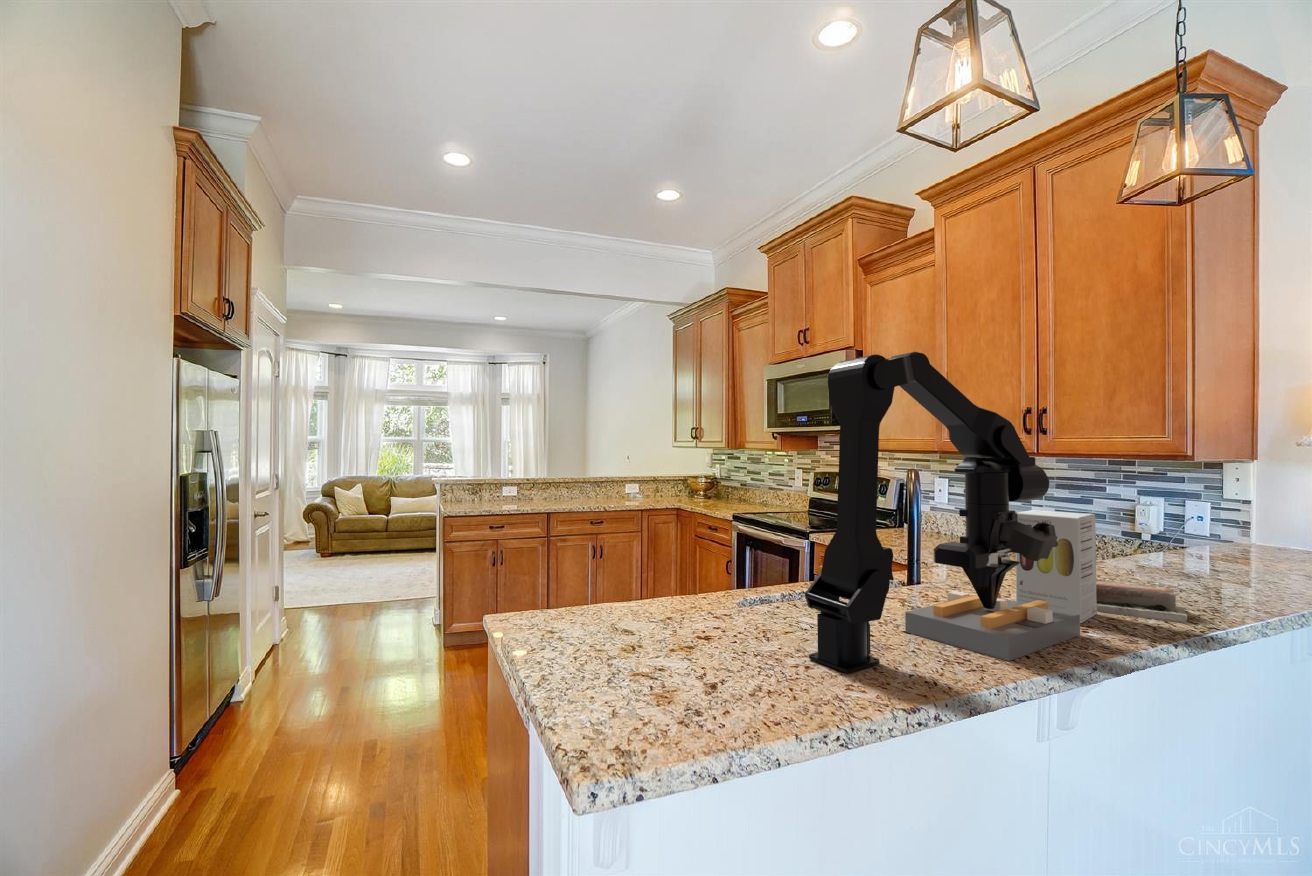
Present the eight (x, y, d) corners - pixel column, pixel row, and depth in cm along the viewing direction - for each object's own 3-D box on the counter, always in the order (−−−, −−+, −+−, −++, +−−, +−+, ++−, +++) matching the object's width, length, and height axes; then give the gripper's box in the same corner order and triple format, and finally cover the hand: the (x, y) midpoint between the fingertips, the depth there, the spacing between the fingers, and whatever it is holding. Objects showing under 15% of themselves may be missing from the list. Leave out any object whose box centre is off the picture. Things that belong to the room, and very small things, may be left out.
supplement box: (1014, 612, 100) (1012, 512, 100) (1033, 603, 106) (1031, 508, 106) (1082, 625, 92) (1079, 516, 93) (1099, 614, 98) (1096, 512, 99)
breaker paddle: (1000, 612, 88) (1000, 601, 88) (983, 609, 90) (983, 598, 90) (1007, 610, 89) (1007, 600, 89) (991, 607, 91) (990, 596, 91)
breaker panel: (1008, 661, 77) (1008, 625, 77) (905, 631, 89) (905, 601, 89) (1080, 635, 87) (1079, 603, 88) (978, 612, 100) (978, 584, 100)
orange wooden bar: (942, 617, 86) (942, 607, 87) (933, 614, 88) (933, 605, 88) (1000, 601, 95) (1000, 593, 95) (991, 600, 96) (991, 591, 96)
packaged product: (1050, 580, 104) (1055, 571, 112) (1050, 608, 104) (1056, 597, 112) (1187, 595, 93) (1183, 584, 101) (1188, 626, 93) (1184, 613, 101)
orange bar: (990, 629, 81) (990, 618, 81) (980, 626, 82) (980, 616, 82) (1048, 611, 89) (1048, 602, 89) (1038, 609, 90) (1038, 600, 90)
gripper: (1010, 511, 77) (1012, 633, 76) (1077, 503, 87) (1079, 611, 86) (930, 505, 86) (932, 613, 86) (998, 498, 96) (1001, 595, 96)
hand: (989, 608), depth 88 cm, fingers closed
